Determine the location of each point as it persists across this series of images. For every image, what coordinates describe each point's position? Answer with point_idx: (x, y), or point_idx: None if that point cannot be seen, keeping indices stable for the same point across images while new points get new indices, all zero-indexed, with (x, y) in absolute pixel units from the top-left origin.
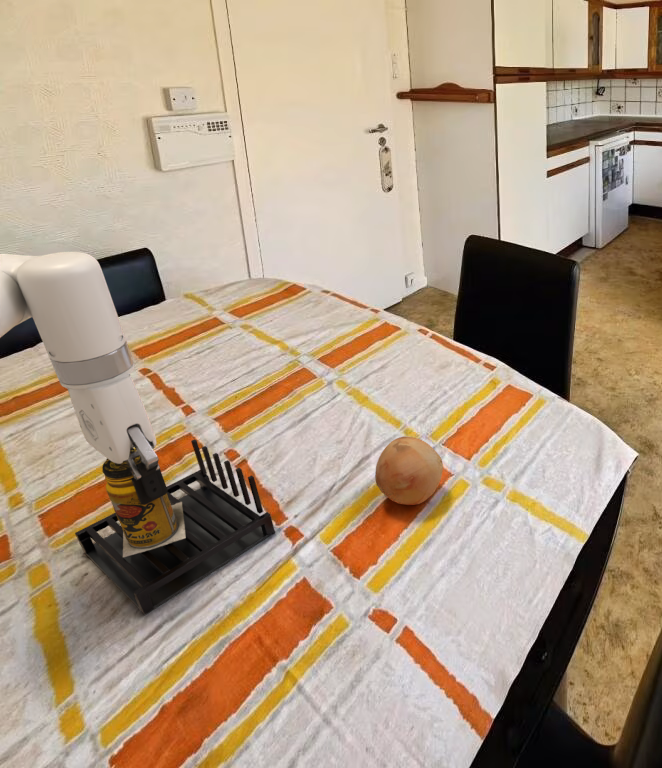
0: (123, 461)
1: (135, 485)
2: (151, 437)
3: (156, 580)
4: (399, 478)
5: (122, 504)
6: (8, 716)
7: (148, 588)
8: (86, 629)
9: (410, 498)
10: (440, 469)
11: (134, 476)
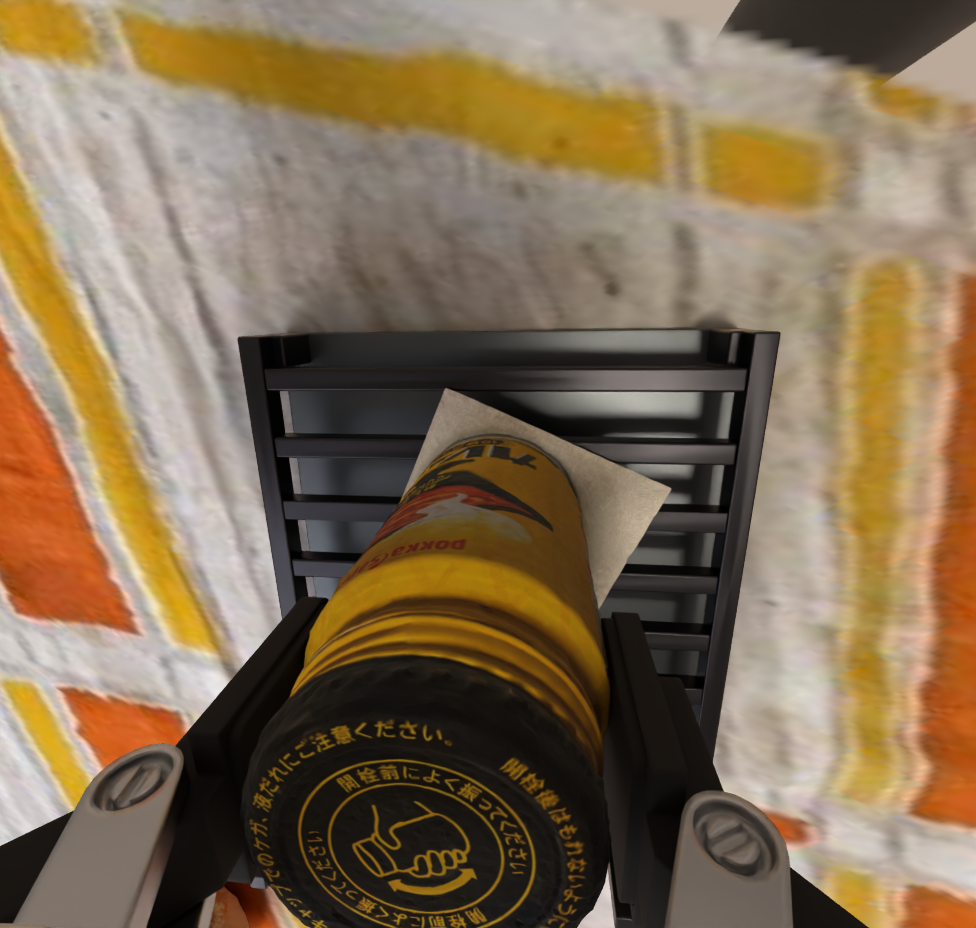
0: (423, 839)
1: (225, 692)
2: None
3: (258, 409)
4: None
5: (384, 539)
6: None
7: (243, 376)
8: (355, 189)
9: None
10: None
11: (177, 766)
